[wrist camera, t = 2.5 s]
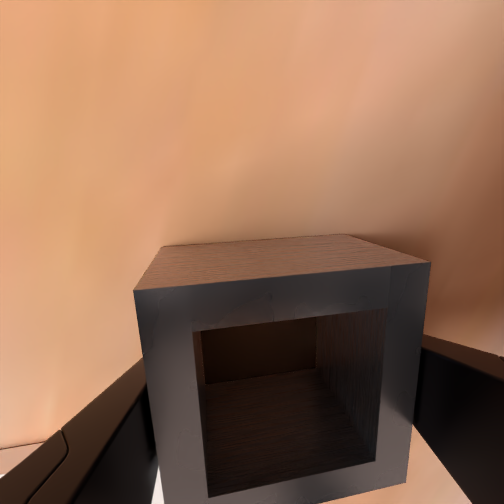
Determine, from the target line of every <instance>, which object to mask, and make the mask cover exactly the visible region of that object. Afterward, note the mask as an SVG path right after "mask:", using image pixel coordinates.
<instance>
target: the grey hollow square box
mask: <svg viewBox="0 0 504 504" xmlns="http://www.w3.org/2000/svg"><path fill="white" fill-rule="evenodd" d="M430 267H431V262H430V261H427V260H423V259H420V258H417V257H414V256H411V255H408V254H405V253H402V252H399V251H395V250H392V249H389V248H386V247H383V246H380V245H377V244H374V243H371V242H368V241H364V240H361V239H358V238H355V237H352V236H349V235H346V234H335V235H321V236H307V237H294V238H280V239H266V240H252V241H238V242H224V243H211V244H197V245H183V246H169V247H161V249H160V250H159V252H158V253H157V255H156V256H155V258H154V259H153V261H152V262H151V264H150V265H149V267H148V269H147V270H146V272H145V273H144V275H143V276H142V278H141V279H140V281H139V282H138V284H137V285H136V287H135V288H134V290H133V292H134V299H135V306H136V313H137V320H138V327H139V334H140V340H141V347H142V354H143V361H144V368H145V375H146V382H147V389H148V395H149V402H150V409H151V416H152V423H153V430H154V437H155V443H156V450H157V457H158V464H159V471H160V478H161V485H162V491H163V498H164V504H319V503H323V502H327V501H331V500H335V499H340V498H344V497H348V496H352V495H356V494H360V493H365V492H369V491H373V490H377V489H381V488H385V487H390V486H394V485H398V484H402V483H406V476H407V468H408V459H409V450H410V441H411V433H412V424H413V415H414V406H415V398H416V389H417V380H418V372H419V363H420V354H421V345H422V337H423V328H424V319H425V310H426V302H427V293H428V284H429V276H430ZM316 316H317V317H316ZM308 317H316V368H311V369H305V370H298V371H292V372H285V373H279V374H272V375H266V376H259V377H253V378H247V379H240V380H234V381H227V382H221V383H214V384H208V385H205V376H204V365H203V354H202V343H201V331H202V330H210V329H219V328H227V327H235V326H243V325H251V324H259V323H268V322H276V321H284V320H292V319H300V318H308Z"/></svg>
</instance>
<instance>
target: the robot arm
mask: <svg viewBox="0 0 504 504" xmlns="http://www.w3.org/2000/svg"><path fill="white" fill-rule="evenodd" d="M413 425H414V427H415V428H416V429H417V431H418V432H419V433H420V435H421V436H422V437H423V439H424V440H425V441H426V443H427V444H428V445H429V447H430V448H431V449H432V451H433V452H434V453H435V455H436V456H437V457H438V459H439V460H440V461H441V463H442V464H443V465H444V467H445V468H446V469H447V471H448V472H449V473H450V475H451V476H452V477H453V479H454V480H455V481H456V483H457V484H458V485H459V487H460V488H461V489H462V491H463V492H464V493H465V495H466V496H467V497H468V499H469V500H470V501H471V503H472V504H504V357H502V356H499V357H498V356H497V355H495V354H491V353H488V352H484V351H481V350H477V349H474V348H470V347H467V346H463V345H460V344H456V343H453V342H449V341H446V340H442V339H439V338H435V337H432V336H428V335H425V334H423V337H422V345H421V354H420V363H419V372H418V380H417V389H416V398H415V406H414V415H413ZM158 467H159V464H158V457H157V450H156V443H155V437H154V430H153V423H152V416H151V409H150V402H149V395H148V389H147V382H146V375H145V368H144V361H143V358H141V359H140V360H139V361H138V362H137V363H136V364H135V365H133V366H132V367H131V368H130V369H129V370H128V371H126V372H125V373H124V374H123V375H122V376H121V377H119V378H118V379H117V380H116V381H115V382H114V383H113V384H111V385H110V386H109V387H108V388H107V389H106V390H104V391H103V392H102V393H101V394H100V395H99V396H98V397H96V398H95V399H94V400H93V401H92V402H91V403H89V404H88V405H87V406H86V407H85V408H84V409H82V410H81V411H80V412H79V413H78V414H77V415H76V416H74V417H73V418H72V419H71V420H70V421H69V422H67V423H66V424H65V425H64V426H63V427H62V428H61V430H58V431H57V432H56V433H55V434H53V435H52V436H51V437H50V438H49V439H48V440H46V441H45V442H44V443H43V444H42V445H41V446H39V447H38V448H37V449H36V450H35V451H33V452H32V453H31V454H30V455H29V456H27V457H26V458H25V459H24V460H23V461H21V462H20V463H19V464H18V465H16V466H15V467H14V468H13V469H11V470H10V471H9V472H8V473H6V474H5V475H4V476H2V477H1V478H0V504H152V498H153V493H154V488H155V483H156V477H157V472H158Z"/></svg>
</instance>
